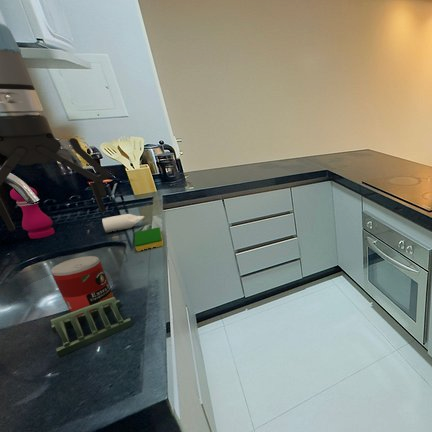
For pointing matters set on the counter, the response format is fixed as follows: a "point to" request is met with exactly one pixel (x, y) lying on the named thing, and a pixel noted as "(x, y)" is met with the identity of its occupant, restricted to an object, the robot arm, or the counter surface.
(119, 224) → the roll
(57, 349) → the drying rack
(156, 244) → the dish sponge
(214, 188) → the counter surface
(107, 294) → the canned food
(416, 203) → the counter surface
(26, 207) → the pepper mill
